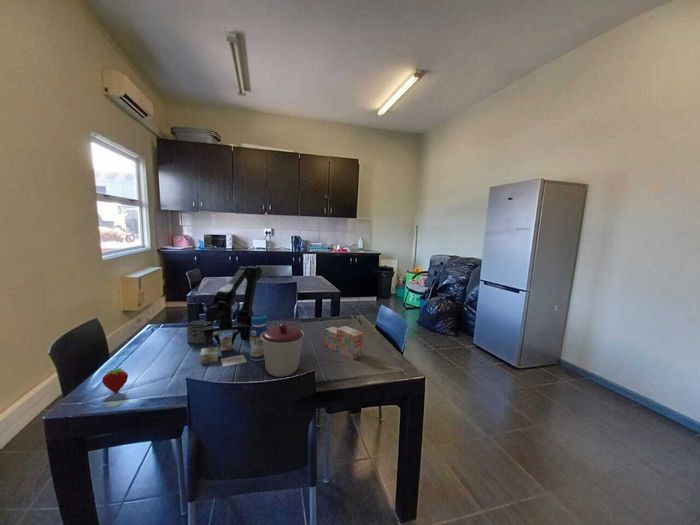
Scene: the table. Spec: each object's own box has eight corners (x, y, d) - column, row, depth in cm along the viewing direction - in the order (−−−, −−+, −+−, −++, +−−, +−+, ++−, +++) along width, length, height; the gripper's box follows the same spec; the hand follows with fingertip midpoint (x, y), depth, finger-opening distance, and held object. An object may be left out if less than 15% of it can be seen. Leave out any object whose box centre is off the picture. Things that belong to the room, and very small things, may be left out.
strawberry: (109, 388, 107) (107, 362, 105) (132, 386, 108) (130, 361, 107) (98, 397, 101) (96, 371, 100) (123, 396, 103) (121, 369, 101)
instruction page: (243, 354, 138) (243, 354, 138) (246, 362, 131) (246, 361, 131) (220, 359, 132) (220, 358, 132) (223, 367, 126) (223, 366, 126)
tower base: (218, 354, 137) (218, 346, 136) (218, 361, 130) (217, 353, 130) (201, 356, 134) (201, 348, 133) (200, 363, 128) (200, 355, 127)
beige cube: (231, 345, 145) (231, 335, 145) (231, 349, 141) (231, 339, 140) (220, 346, 143) (220, 337, 143) (220, 350, 139) (220, 341, 138)
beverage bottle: (262, 351, 142) (262, 312, 139) (271, 357, 136) (271, 317, 134) (246, 356, 136) (246, 315, 134) (254, 363, 130) (254, 320, 128)
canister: (305, 361, 134) (307, 317, 131) (300, 382, 116) (301, 332, 113) (266, 360, 134) (267, 316, 131) (254, 381, 116) (254, 331, 113)
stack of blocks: (324, 345, 153) (324, 323, 151) (332, 342, 157) (333, 320, 156) (353, 360, 138) (354, 335, 136) (362, 356, 142) (363, 332, 141)
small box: (213, 340, 153) (213, 321, 151) (206, 345, 146) (206, 325, 145) (195, 338, 154) (194, 319, 152) (186, 343, 147) (186, 323, 146)
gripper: (244, 309, 151) (244, 337, 153) (204, 312, 143) (205, 342, 145) (246, 315, 141) (246, 346, 143) (203, 319, 133) (204, 351, 135)
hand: (225, 346), depth 142 cm, fingers closed on beige cube, 5 cm apart
